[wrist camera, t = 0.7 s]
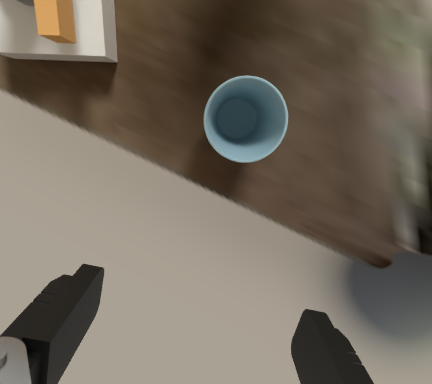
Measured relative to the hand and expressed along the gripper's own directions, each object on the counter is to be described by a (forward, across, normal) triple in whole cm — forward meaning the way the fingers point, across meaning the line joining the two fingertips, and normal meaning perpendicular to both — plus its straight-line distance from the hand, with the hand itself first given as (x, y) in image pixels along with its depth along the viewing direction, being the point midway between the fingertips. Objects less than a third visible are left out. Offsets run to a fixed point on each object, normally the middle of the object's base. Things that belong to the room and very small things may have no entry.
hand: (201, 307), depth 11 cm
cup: (+28, -2, -7) cm, 28 cm away
